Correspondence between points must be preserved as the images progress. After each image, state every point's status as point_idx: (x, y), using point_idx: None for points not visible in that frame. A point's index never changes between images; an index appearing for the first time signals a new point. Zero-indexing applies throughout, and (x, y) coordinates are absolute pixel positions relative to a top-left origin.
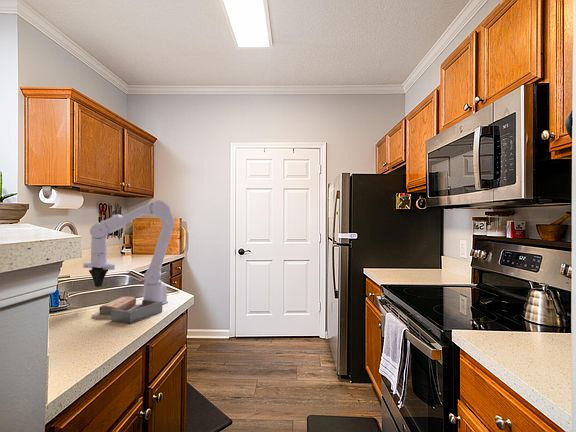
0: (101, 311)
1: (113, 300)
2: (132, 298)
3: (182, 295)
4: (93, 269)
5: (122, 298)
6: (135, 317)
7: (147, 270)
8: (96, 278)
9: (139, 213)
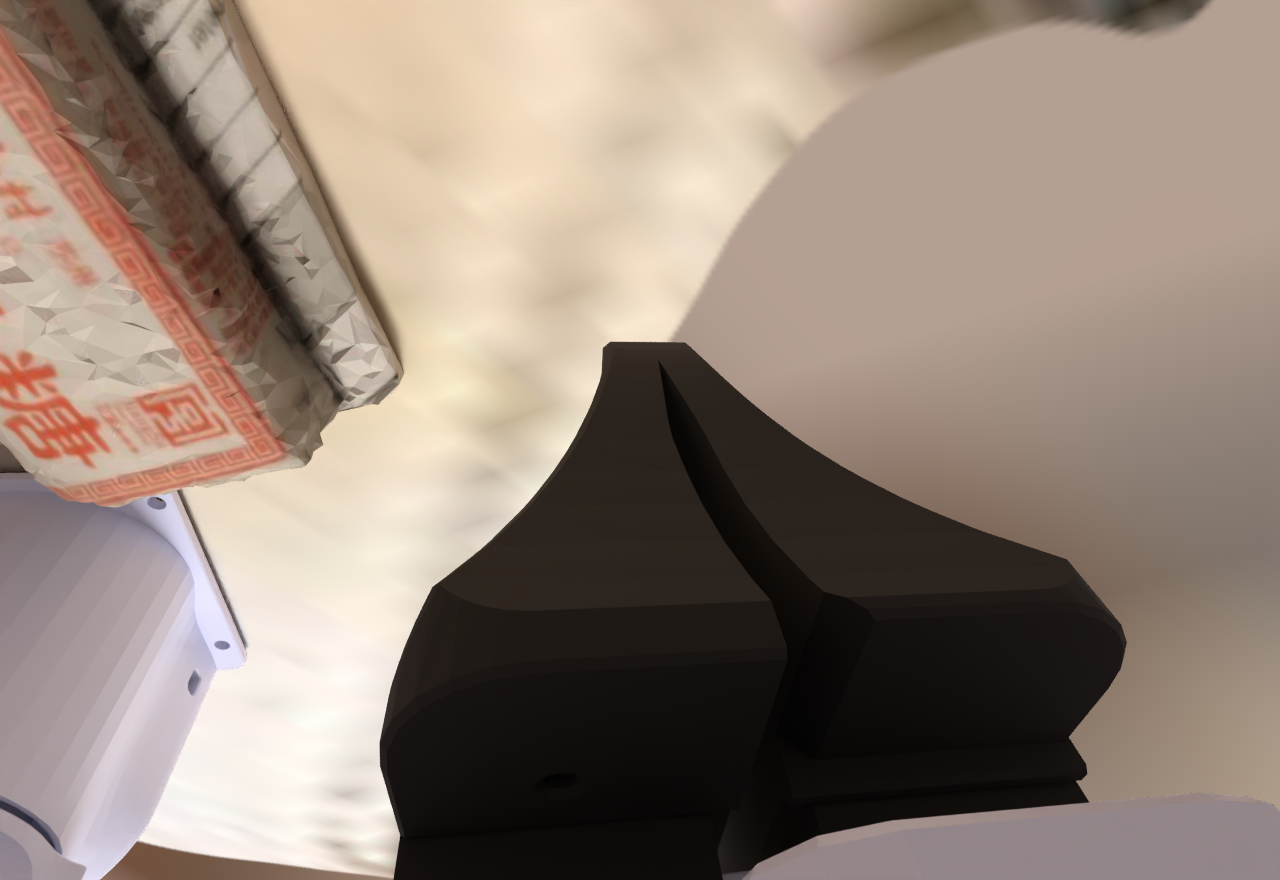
0: None
1: (73, 171)
2: (13, 441)
3: (216, 830)
4: (963, 762)
5: (122, 364)
6: None
7: None
8: (627, 444)
9: None
